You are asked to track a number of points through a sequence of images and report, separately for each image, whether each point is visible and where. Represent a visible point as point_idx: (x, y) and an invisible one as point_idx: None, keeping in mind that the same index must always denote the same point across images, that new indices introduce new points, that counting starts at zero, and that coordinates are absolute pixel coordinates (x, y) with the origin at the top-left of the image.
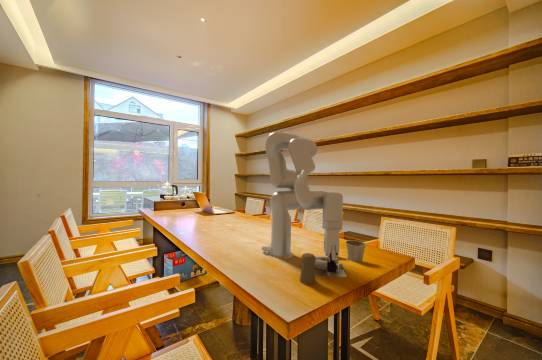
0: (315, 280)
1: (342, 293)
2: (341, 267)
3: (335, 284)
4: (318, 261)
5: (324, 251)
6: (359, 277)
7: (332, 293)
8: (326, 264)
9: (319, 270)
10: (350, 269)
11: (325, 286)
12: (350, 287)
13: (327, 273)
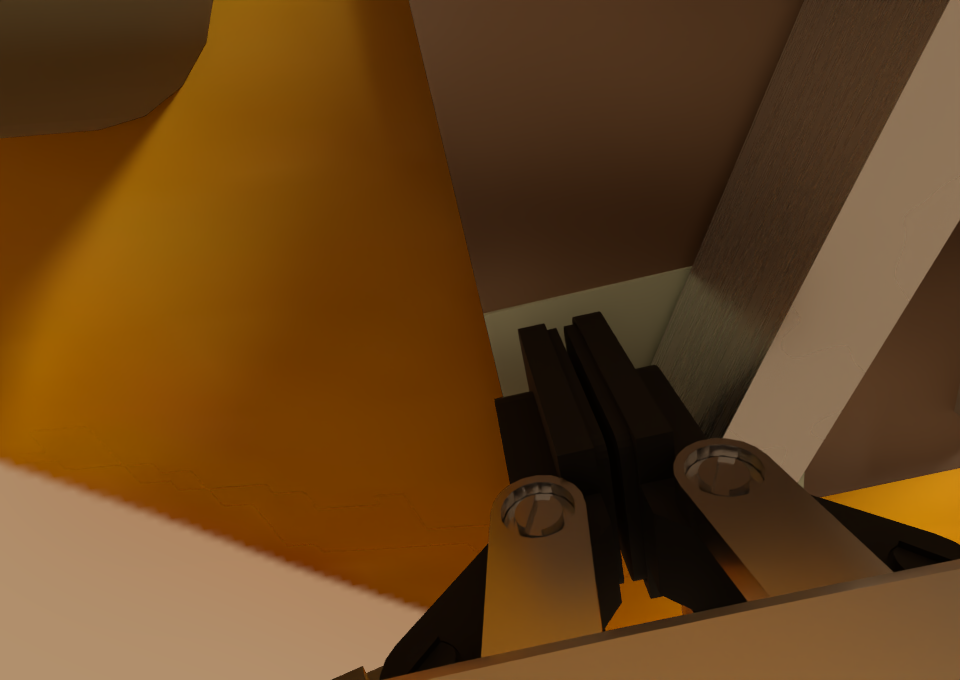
0: (37, 134)
1: (113, 497)
2: (909, 454)
3: (334, 403)
4: (881, 107)
5: (712, 664)
6: (676, 605)
7: (16, 398)
8: (753, 316)
9: (702, 118)
10: (922, 516)
11: (176, 285)
12: (342, 552)
13: (593, 288)
